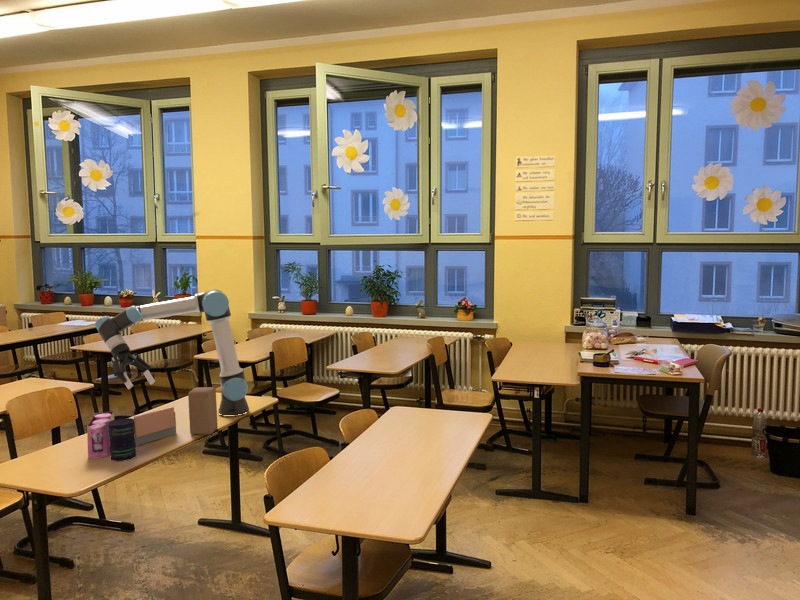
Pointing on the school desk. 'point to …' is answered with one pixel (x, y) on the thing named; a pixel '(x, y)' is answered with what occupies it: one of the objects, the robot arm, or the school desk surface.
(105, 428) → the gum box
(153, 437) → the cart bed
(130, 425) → the storage jar
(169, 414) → the panel
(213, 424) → the wooden block
